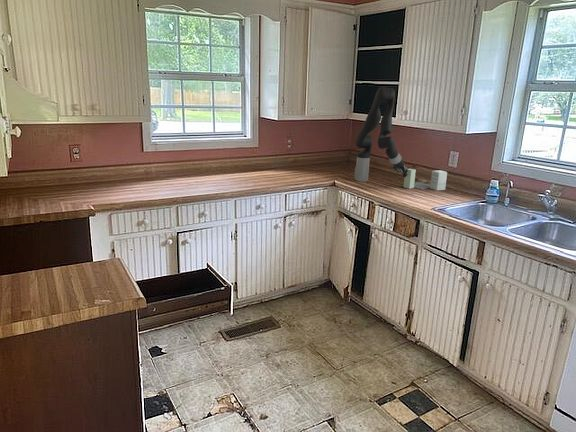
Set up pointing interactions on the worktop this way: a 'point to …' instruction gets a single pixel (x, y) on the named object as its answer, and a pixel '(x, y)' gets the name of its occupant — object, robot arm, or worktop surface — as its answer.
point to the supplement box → (438, 180)
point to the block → (409, 179)
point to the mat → (421, 185)
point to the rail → (424, 181)
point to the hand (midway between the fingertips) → (405, 176)
